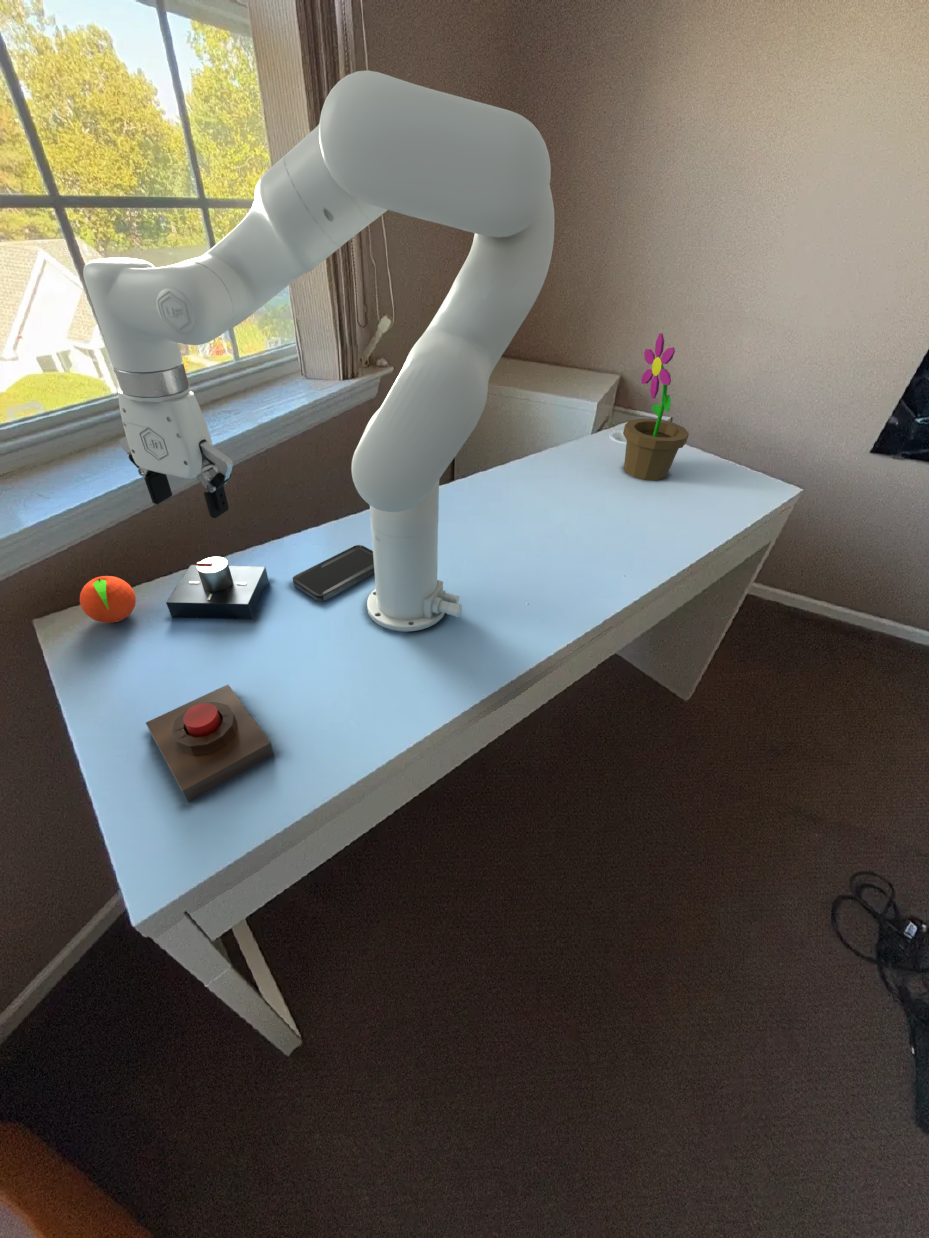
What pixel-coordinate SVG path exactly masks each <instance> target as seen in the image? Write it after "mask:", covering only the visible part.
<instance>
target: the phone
mask: <svg viewBox="0 0 929 1238" xmlns="http://www.w3.org/2000/svg"><path fill="white" fill-rule="evenodd" d="M373 575H375V572H374V559H373V549H370V548H368V547H366V546H364V545H362V544H356V545H353V546H352V547H349V548H347V549H346V550H344V551H341V552H339V553H337V554H335V555H333V556H331V557H329V558H327V559H324V560H323V561H321V562H319V563H317V564H315V565H313V566H311V567H309V568H307V569H305V570H303V571H301V572H299V573H297V574H295V575H294V576H293V577H292V583H293V586H294V587H295V588H296V589H298V590H300V591H301V592H303V593H304V594H305V595H307V596H308V597H311V598H312V599H313V600H315V601H317V602H325V601H327V600H329V599H331V598H332V597H335V596H336V595H338V594H340V593H342V592H344V591H345V590H347V589H349V588H351V587H353V586H355V585H356V584H358V583H361V582H362V581H364V580H365V579H367V578H369V577H370V576H373Z"/></svg>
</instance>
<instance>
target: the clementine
mask: <svg viewBox="0 0 929 1238" xmlns="http://www.w3.org/2000/svg"><path fill="white" fill-rule="evenodd" d="M136 602H137V597H136V592H135V591H134V589H133V588H132V586H131V585H130V584H129V583H128V582H127V581H125V580H123V578H120V577H118V576H112V575H101V576H97V577H95V578H92V579H91V580H89V581H88V582H87V583H86V584H85V585H83V587H82V589H81V591H80V593H79V604H80V607H81V609H82V611H83V613H85V615H86V616H87V617H89V618H90V619H91V620H93V621H96V622H99V623H102V624H113V623H118V622H121V621H123V620H125V619H126V618H128V617H129V616H130V615H131V614H132V613H133V611H134V609H135V607H136Z"/></svg>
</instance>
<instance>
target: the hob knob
mask: <svg viewBox="0 0 929 1238" xmlns="http://www.w3.org/2000/svg"><path fill="white" fill-rule="evenodd" d="M196 565H197V570H198V573H199V576H200V580H201V583H202V586H203V588H204V589H205V590H207V591H211V592H217V591H222V590H225V589H227V588H228V587H230V586H231V585H232V583H233V579H232V576H231V572H230V568H229V566H230V564H229V562H228V560H227V559H226V558H225V557H222V556H211V557H207V558H204V559H202V560H201V561H197V562H196Z"/></svg>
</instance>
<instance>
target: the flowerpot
mask: <svg viewBox="0 0 929 1238" xmlns="http://www.w3.org/2000/svg"><path fill="white" fill-rule="evenodd" d="M654 345H655V346H654V351H653V350H652V349H651V348H650V349H649V348H645V349H644V352H643V356H644V357H643V358H644V361H645V362H646V363H647V364H648V365H651V368H647V369H646V370H645V372H643V373H642V377H641V380H640V382H641V385H645V384H648V383H650V388H649V392H650V397H651V399H656V397H657V395H658V393H659V389H660V382H661V383H662V391H661V392H662V393H661V401H660V402H661V403H660V405H659V404H655V405H652V406H651V408H650V409H651V411H653V412H654V414H655V415H656V416H657V418H645V417H640V418H636V419H630V420H628V421H627V422H626V423H625V424H624V428H623V431H622V435H623V437H624V439H625V440H626V443H625V454H624V462H623V469H624V472H625V473H626V474H627V475H629V476H630V477H633V478H636V479H639V480H643V481H660V480H663V479H665V478H666V477H667V476H668V474H669V472H670V469H671V467H672V464H673V462H674V460H675V458H676V456H677V454H678V452H679V449H682V448H683V447H684V446H685V445H686V444H687V441H688V438H689V435H690V432H688V431H687V429H686V428H685V427H684V426H682V425H680V424H677V423H675V422H672V421H668V420H664V419H662V418H663V415H664V411H665V412H666V413H669V412H670V408H671V403H672V399H671V396H670V394H668V387H669V386H670V385H671V382H672V379H671V378H672V377H671V373H670V372H669V371H668V369H667V368H665V367H664V365H667V364H669V363H670V362H671V361H672V360H673V357H674V355H675V352H676V351H675V347H674V346H673V347H667V348H666V349H665V350H664V347H665V337H664V333H663V332H661V333H658V336H657V338H656V340H655V344H654Z"/></svg>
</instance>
